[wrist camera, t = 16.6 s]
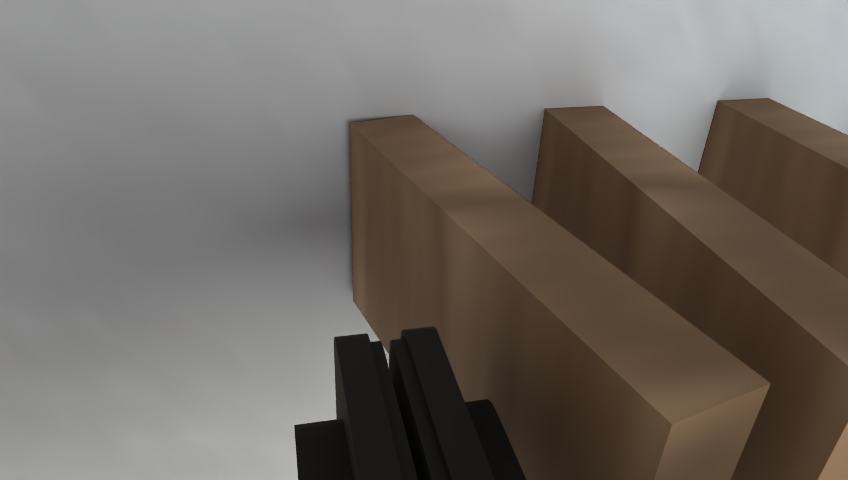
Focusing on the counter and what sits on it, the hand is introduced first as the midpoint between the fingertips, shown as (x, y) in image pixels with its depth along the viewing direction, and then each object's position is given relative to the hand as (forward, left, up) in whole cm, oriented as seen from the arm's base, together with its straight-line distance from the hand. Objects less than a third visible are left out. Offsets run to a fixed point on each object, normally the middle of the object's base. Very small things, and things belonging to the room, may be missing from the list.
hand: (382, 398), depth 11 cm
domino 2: (+6, 0, -7) cm, 9 cm away
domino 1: (+1, 0, -6) cm, 6 cm away
